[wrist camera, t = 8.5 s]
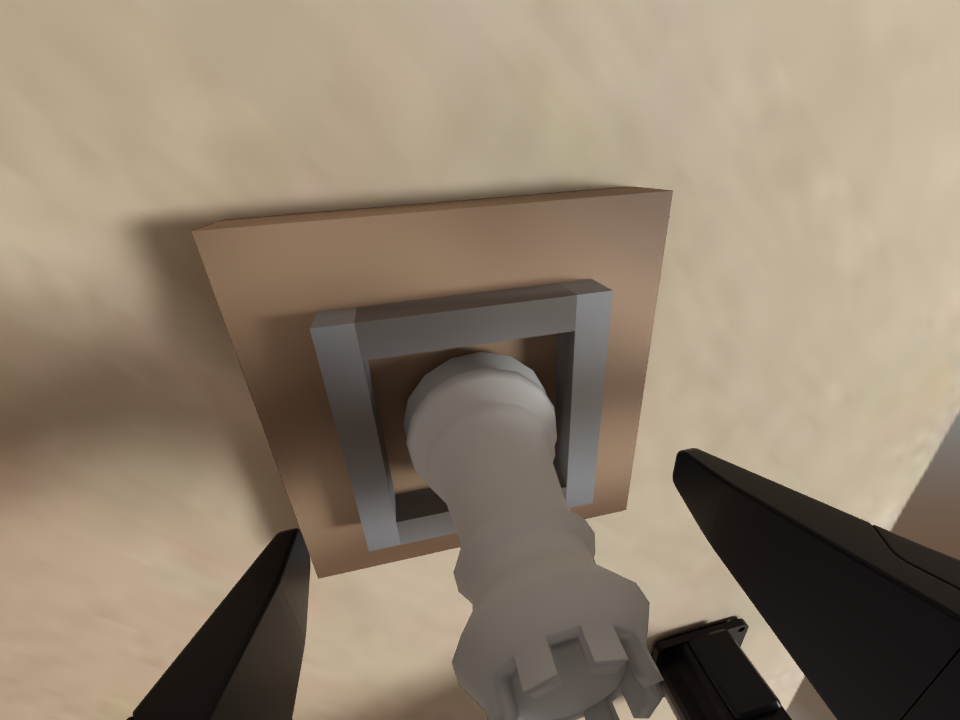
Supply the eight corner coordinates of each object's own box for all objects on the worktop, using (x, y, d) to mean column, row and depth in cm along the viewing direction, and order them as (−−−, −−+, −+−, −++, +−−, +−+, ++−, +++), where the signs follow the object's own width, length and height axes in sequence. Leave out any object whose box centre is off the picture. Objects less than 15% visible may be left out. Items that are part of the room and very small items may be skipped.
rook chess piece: (557, 436, 14) (735, 720, 7) (436, 487, 14) (483, 832, 7) (520, 321, 12) (717, 553, 5) (376, 381, 12) (350, 711, 4)
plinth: (602, 476, 18) (642, 533, 15) (325, 533, 16) (313, 611, 13) (632, 186, 13) (703, 193, 10) (222, 220, 11) (166, 240, 8)
